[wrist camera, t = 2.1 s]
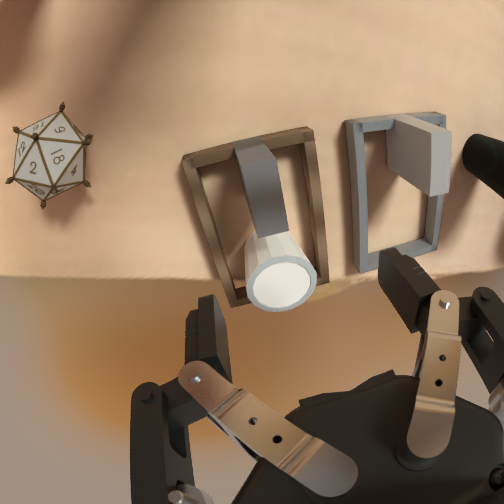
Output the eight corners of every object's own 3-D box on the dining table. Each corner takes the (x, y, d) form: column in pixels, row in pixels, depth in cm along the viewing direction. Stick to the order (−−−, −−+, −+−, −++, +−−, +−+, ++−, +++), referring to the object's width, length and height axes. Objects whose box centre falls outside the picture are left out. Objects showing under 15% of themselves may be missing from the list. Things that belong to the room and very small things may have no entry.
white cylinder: (302, 219, 33) (323, 255, 27) (294, 270, 37) (310, 310, 31) (239, 219, 32) (248, 256, 26) (237, 272, 36) (244, 314, 30)
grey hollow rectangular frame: (344, 120, 27) (385, 138, 20) (435, 111, 27) (483, 129, 20) (353, 264, 37) (380, 306, 30) (428, 242, 37) (461, 276, 30)
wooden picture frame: (183, 155, 27) (174, 184, 21) (306, 126, 27) (338, 145, 20) (229, 296, 37) (235, 346, 31) (324, 272, 37) (347, 317, 30)
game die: (96, 142, 28) (115, 207, 25) (30, 173, 26) (35, 245, 22) (76, 74, 21) (86, 129, 17) (-2, 113, 18) (-15, 182, 14)
